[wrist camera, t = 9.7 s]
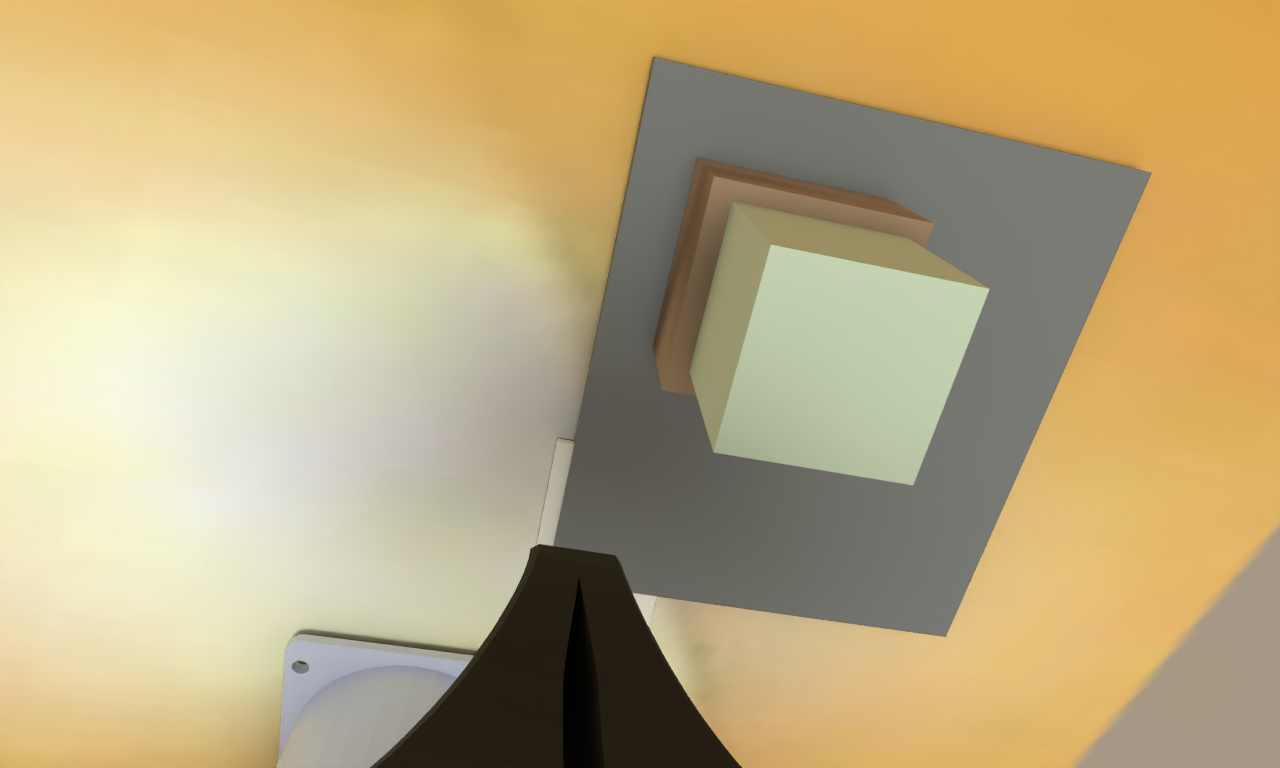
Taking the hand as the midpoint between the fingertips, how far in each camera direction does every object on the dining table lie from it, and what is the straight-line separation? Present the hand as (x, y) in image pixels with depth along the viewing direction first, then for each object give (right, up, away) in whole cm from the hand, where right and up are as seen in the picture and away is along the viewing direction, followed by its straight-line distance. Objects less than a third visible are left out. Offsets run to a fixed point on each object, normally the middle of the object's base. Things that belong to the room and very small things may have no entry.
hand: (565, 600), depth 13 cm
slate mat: (+6, +3, +10) cm, 12 cm away
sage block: (+5, +5, +6) cm, 9 cm away
